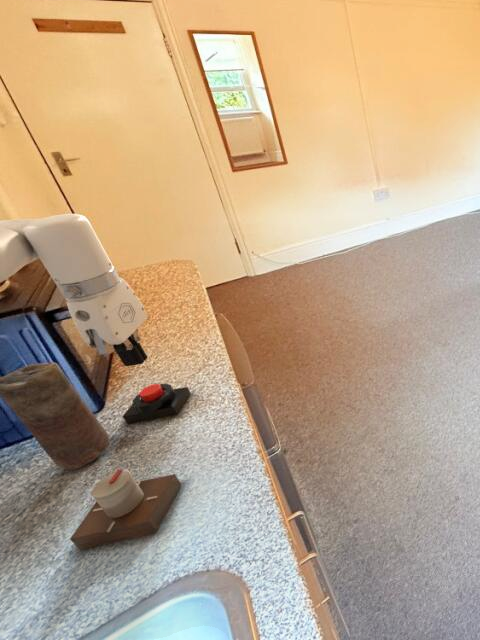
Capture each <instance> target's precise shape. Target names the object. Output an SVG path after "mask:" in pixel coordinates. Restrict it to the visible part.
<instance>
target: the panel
mask: <svg viewBox="0 0 480 640" xmlns="http://www.w3.org/2000/svg"><path fill="white" fill-rule="evenodd" d="M136 482H137V484H138V485H139V487H140V488H141V490H142V491H143V493H144V497H143V499H142V501H141V502H140V504H139V505H138V506H137V507H136V508H135V509H133V510H132V511H130V512H129V513H127V514H125V515H123V516H121V517H117V518H110V517H108V516H107V514H106V513H105V512H104V510H103V509H102V508H101V506H100V505H99V504H98V503H97V501H96V500H95V503H94V504H93V505H92V506H91V508H90V509H89V511H88V512H87V514H86V516H85V517H84V519H83V520H82V521H81V523H79V525H78V526H77V528H76V530H75V531H74V532H73V534H72V536H71V537H70V538H69V540H70V541H71V542H72V543H73V544H74V546H75V547H76V548H77V549H78V550H79V551H83V550H84V551H85V550H87V549H88V550H89V549H93V548H97V547H100V546H105V545H110V544H114V543H117V542H123V541H127V540H130V539H135V538H139V537H143V536H148V535H151V534H152V535H153V534H156V533H158V531H159V529H160V527H161V525H162V523H163V522H164V520H165V517H166V516H167V514H168V511H169V510H170V508H171V506H172V504H173V503H174V501H175V499H176V497H177V495H178V493H179V491H180V489H181V487H182V484H181V481H180V480H179V478H178V476H177V475H176V473H174V474H168V475H164V476H163V475H162V476H159V477H154V478H148V479H144V478H142V477H141V478H140V479H138V481H136Z"/></svg>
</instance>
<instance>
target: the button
mask: <svg viewBox="0 0 480 640" xmlns="http://www.w3.org/2000/svg"><path fill="white" fill-rule="evenodd" d="M139 393H140V397H141V398H142V400H143V401H144V402H148V401H152V400H154V399H157V398H158V397H160V396H161V395H162V394H163V393H164V391H163V389H162V387H161V386H160V385H159V383H154V384H150V385H148V386H146V387H144V388H143V389H141V390H140V392H139Z"/></svg>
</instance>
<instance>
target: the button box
mask: <svg viewBox="0 0 480 640" xmlns="http://www.w3.org/2000/svg"><path fill="white" fill-rule="evenodd" d="M158 384H159V383H158ZM159 385H160V386H161V387H162V389H163V391H164V393H163V394H162V395H161V396H160V397H158V398H157V399H154V400H152V401H148V402H144V401H143V400H142V398H141V397H140V392H139V393H137V394H136V396H135V397H134V398H133V400H132V404H131V405H130V406H129V407H128V409H127V410H126V411H125V413H123V415H122V418H123V419H124V421H125V423H126V424H127V425H129V424H135V423H136V424H137V423H141V422H145V421H151V420H158V419H163V418H168V417H175V416H178V415H179V414H180V412H181V411H182V409H183V408H184V406H185V404H186V403H187V401H188V400H189V398H190V396H191V395H192V393H191V392H190V389H189V386H184V387H178V388H173V385H172V384H170V383H160V384H159Z"/></svg>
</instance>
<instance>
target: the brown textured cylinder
mask: <svg viewBox="0 0 480 640" xmlns="http://www.w3.org/2000/svg"><path fill="white" fill-rule="evenodd" d="M0 397H1V398H2V399H3V400H4V401H5V403H6V404H7V406H8V407H9V408H10V410H12V412H13V413H15V415H16V416H17V418H18V419H19V420H20V422H22V424H23V425H24V427H25V428H26V429H27V430H28V431H29V432H30V434H31V435H32V436H33V438H34V439H35V440H36V441H37V443H38V444H39V445H40V447H41V448H42V449H43V451H44V452H45V453H46V455H48V457H49V458H50V459H51V460H52V462H53V463H54V464H55V465H56V466H57V467H58V468H59V469H63V470H66V471H75V470H77V469H80V468H82V467H84V466H85V465H87V464H89V463H91V462H93V461H95V460H96V459H97V458H98V457H99V456H100V454H101V453H103V451H104V450H105V449H106V448H108V447H109V444H110V443H111V437H110V435H109V433H108V432H107V430H106V429H105V427H104V426H103V425H102V424H101V422H100V421H99V420H98V418H97V417H96V415H95V414H94V412H93V411H92V410H91V408H89V406H88V405H87V403H86V401H85V400H84V399H83V398H82V397H81V395H80V393H79V392H78V391H77V389H76V387H75V386H74V385H73V383H72V382H71V381H70V378H68V376H67V375H66V374H65V372H64V371H63V369H62V368H61V367H60V365H59V364H58V363H56V362H43V363H42V362H41V363H33V364H28V365H26V366H23V367H21V368H19V369H16V370H13V371H11V372H10V373H8V374H6V375H2V376H1V377H0Z"/></svg>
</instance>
